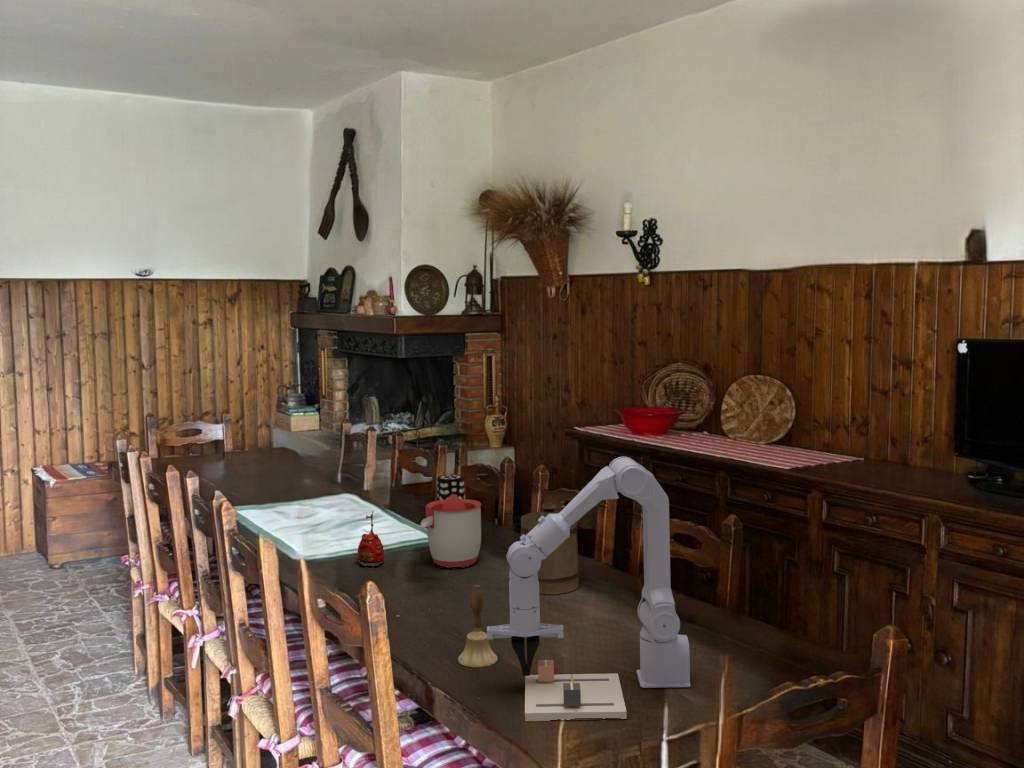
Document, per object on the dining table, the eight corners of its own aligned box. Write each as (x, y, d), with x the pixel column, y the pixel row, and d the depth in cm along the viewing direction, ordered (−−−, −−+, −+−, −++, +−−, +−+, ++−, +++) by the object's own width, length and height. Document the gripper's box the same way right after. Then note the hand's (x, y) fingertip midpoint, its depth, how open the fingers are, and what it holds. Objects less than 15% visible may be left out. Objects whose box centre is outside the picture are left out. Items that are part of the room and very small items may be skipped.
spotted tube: (436, 539, 298) (434, 475, 296) (462, 536, 301) (460, 473, 299) (442, 545, 290) (440, 480, 288) (469, 543, 293) (467, 478, 291)
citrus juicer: (414, 561, 274) (411, 492, 272) (470, 553, 281) (468, 486, 279) (433, 575, 260) (430, 503, 258) (491, 566, 267) (489, 495, 265)
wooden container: (579, 577, 255) (578, 496, 253) (577, 595, 240) (576, 509, 238) (523, 577, 256) (521, 496, 254) (518, 595, 241) (516, 509, 239)
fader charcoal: (579, 698, 175) (579, 682, 174) (580, 705, 172) (580, 689, 171) (563, 699, 175) (563, 682, 174) (564, 706, 172) (563, 689, 171)
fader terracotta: (553, 675, 186) (553, 659, 185) (554, 681, 183) (553, 665, 182) (538, 675, 186) (537, 660, 185) (538, 681, 183) (537, 666, 182)
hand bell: (497, 651, 204) (495, 578, 202) (498, 667, 196) (495, 590, 194) (458, 653, 204) (455, 579, 202) (457, 668, 195) (454, 592, 194)
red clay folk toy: (354, 567, 270) (351, 515, 268) (364, 560, 276) (362, 509, 275) (378, 569, 268) (376, 516, 266) (389, 562, 274) (387, 510, 273)
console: (617, 680, 187) (617, 672, 187) (626, 719, 170) (626, 710, 170) (525, 682, 187) (525, 674, 187) (525, 721, 171) (524, 712, 170)
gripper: (561, 597, 187) (563, 664, 188) (487, 598, 187) (489, 666, 188) (563, 609, 180) (564, 679, 181) (485, 610, 180) (487, 680, 181)
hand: (526, 673), depth 184 cm, fingers closed
